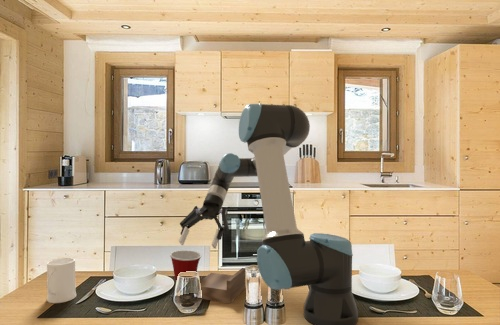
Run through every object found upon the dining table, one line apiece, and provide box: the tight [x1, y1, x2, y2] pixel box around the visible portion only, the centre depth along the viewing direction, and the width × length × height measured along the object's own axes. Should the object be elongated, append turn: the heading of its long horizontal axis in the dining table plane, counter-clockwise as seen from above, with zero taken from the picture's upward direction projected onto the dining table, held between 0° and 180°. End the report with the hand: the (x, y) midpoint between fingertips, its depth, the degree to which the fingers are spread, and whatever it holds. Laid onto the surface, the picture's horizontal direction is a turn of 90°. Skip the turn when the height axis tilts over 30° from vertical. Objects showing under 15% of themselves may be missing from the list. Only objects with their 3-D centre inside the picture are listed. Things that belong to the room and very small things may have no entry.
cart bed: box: [199, 267, 246, 304], centre depth 121 cm, size 13×13×7 cm
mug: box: [46, 257, 77, 304], centre depth 116 cm, size 12×8×12 cm
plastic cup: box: [169, 249, 202, 281], centre depth 125 cm, size 11×11×12 cm
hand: (196, 244), depth 134 cm, fingers open, 13 cm apart
